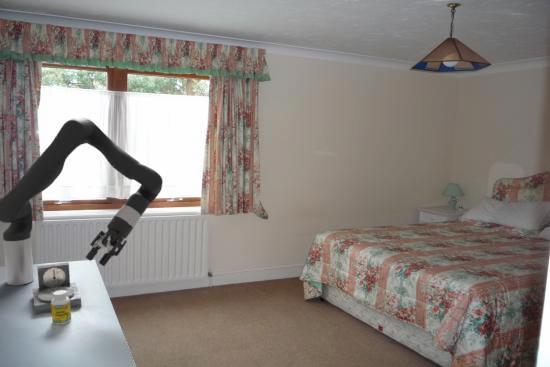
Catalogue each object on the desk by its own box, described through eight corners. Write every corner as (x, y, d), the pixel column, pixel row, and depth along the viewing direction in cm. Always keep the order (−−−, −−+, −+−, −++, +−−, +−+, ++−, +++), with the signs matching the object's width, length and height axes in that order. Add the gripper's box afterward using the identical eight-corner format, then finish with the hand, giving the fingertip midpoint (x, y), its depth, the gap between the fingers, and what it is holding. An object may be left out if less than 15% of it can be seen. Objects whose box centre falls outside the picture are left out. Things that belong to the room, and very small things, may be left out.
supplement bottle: (69, 316, 152) (67, 287, 150) (72, 322, 147) (70, 293, 146) (51, 320, 149) (49, 291, 147) (53, 326, 144) (51, 296, 143)
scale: (33, 296, 168) (30, 267, 166) (75, 290, 174) (73, 261, 173) (35, 314, 153) (32, 282, 151) (81, 306, 160) (79, 275, 158)
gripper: (105, 212, 164) (75, 251, 157) (128, 218, 154) (97, 260, 147) (120, 224, 168) (91, 263, 161) (143, 231, 159) (113, 272, 152)
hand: (94, 261), depth 154 cm, fingers open, 8 cm apart
